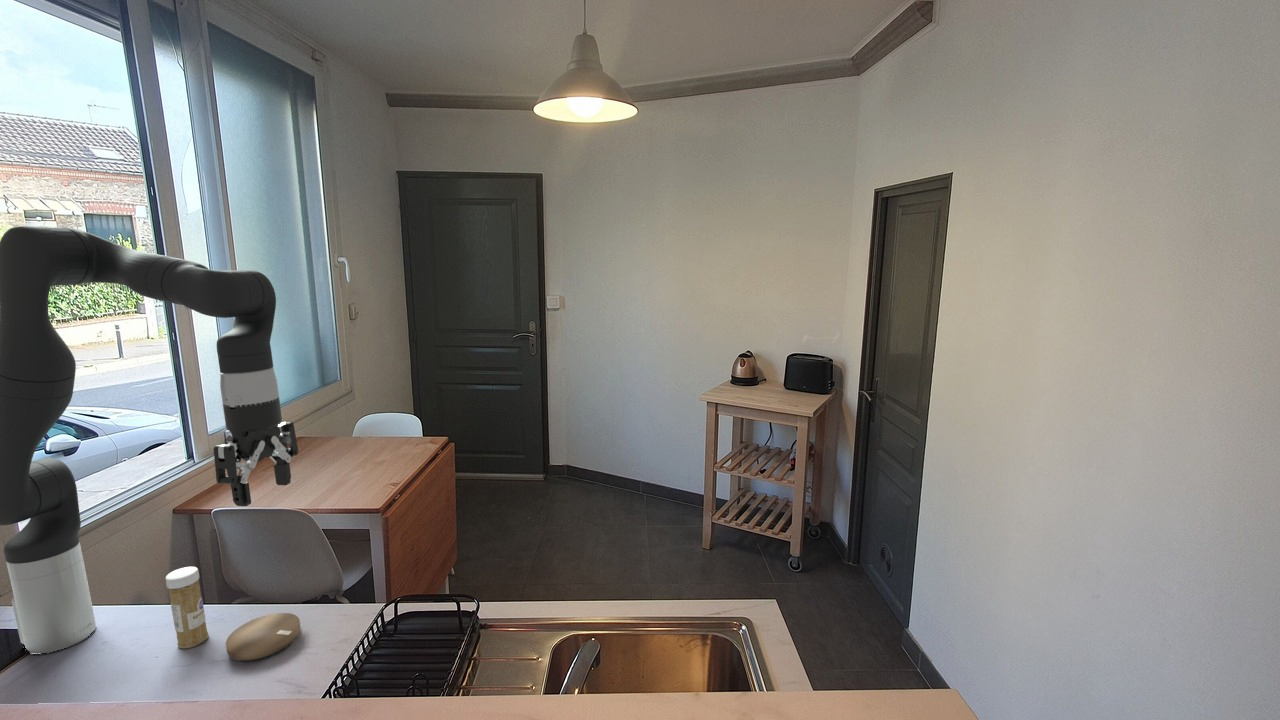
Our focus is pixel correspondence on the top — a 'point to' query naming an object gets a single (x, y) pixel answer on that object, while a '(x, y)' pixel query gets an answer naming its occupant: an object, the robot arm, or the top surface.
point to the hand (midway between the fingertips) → (264, 494)
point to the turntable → (263, 636)
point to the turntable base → (266, 656)
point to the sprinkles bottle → (187, 606)
